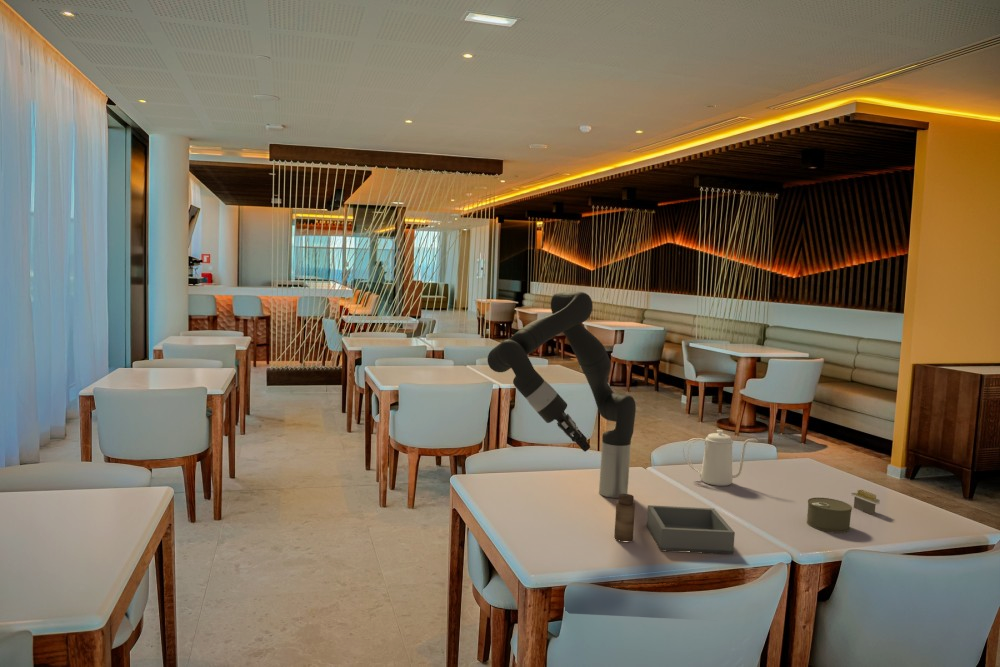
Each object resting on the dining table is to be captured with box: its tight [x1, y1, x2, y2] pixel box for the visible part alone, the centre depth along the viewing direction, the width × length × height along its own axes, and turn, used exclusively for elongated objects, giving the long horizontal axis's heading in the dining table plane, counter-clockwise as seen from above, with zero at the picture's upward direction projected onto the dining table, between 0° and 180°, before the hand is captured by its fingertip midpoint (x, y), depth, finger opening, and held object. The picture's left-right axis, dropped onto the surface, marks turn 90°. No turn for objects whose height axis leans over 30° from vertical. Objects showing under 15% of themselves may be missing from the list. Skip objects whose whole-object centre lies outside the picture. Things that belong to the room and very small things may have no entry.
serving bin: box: [646, 504, 736, 555], centre depth 198 cm, size 19×19×6 cm
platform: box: [850, 489, 881, 517], centre depth 230 cm, size 12×18×7 cm, turn 21°
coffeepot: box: [682, 429, 759, 487], centre depth 255 cm, size 11×25×19 cm, turn 71°
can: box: [806, 497, 853, 534], centre depth 215 cm, size 12×12×7 cm
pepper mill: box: [613, 493, 636, 542], centre depth 196 cm, size 5×5×12 cm
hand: (586, 445), depth 194 cm, fingers open, 8 cm apart
